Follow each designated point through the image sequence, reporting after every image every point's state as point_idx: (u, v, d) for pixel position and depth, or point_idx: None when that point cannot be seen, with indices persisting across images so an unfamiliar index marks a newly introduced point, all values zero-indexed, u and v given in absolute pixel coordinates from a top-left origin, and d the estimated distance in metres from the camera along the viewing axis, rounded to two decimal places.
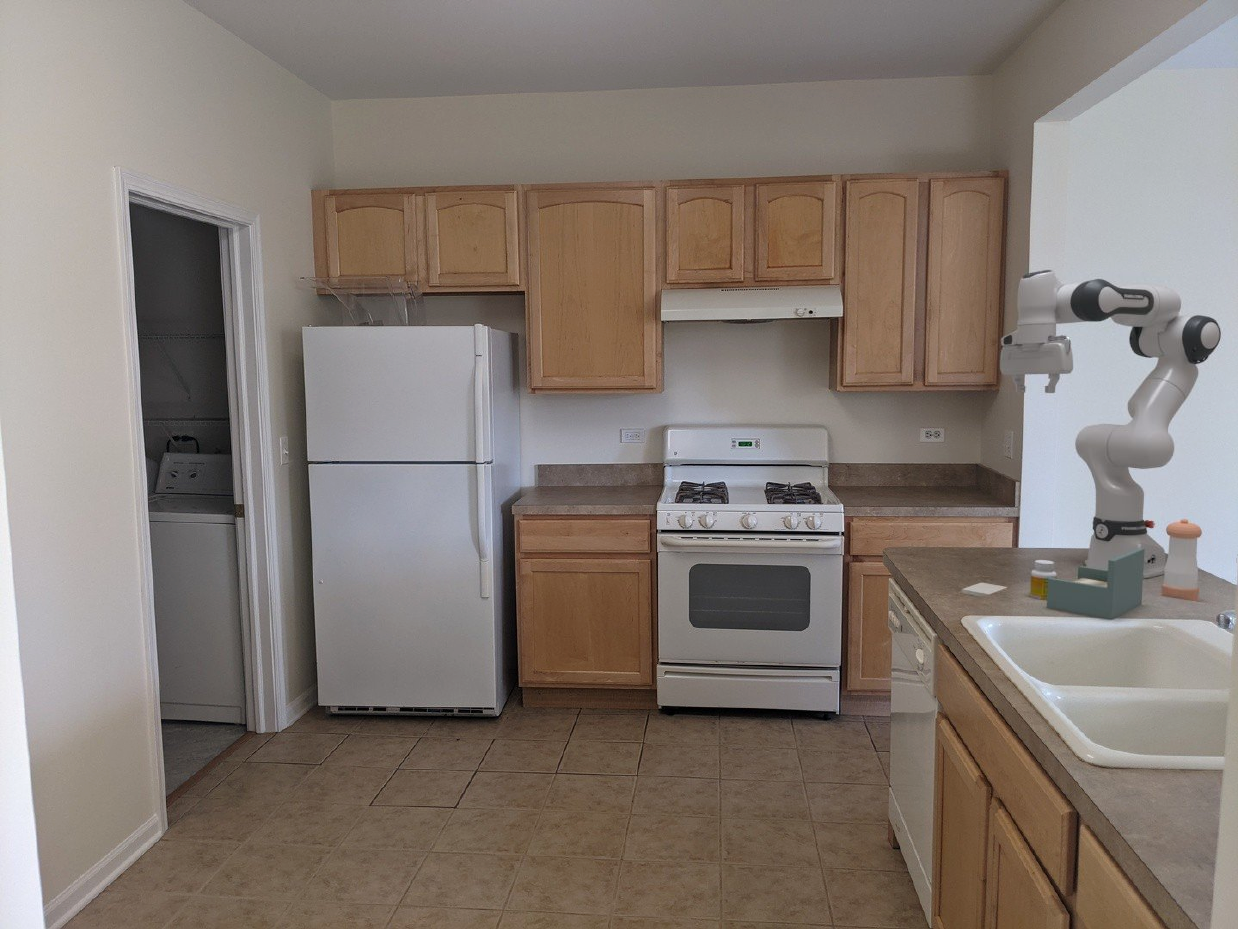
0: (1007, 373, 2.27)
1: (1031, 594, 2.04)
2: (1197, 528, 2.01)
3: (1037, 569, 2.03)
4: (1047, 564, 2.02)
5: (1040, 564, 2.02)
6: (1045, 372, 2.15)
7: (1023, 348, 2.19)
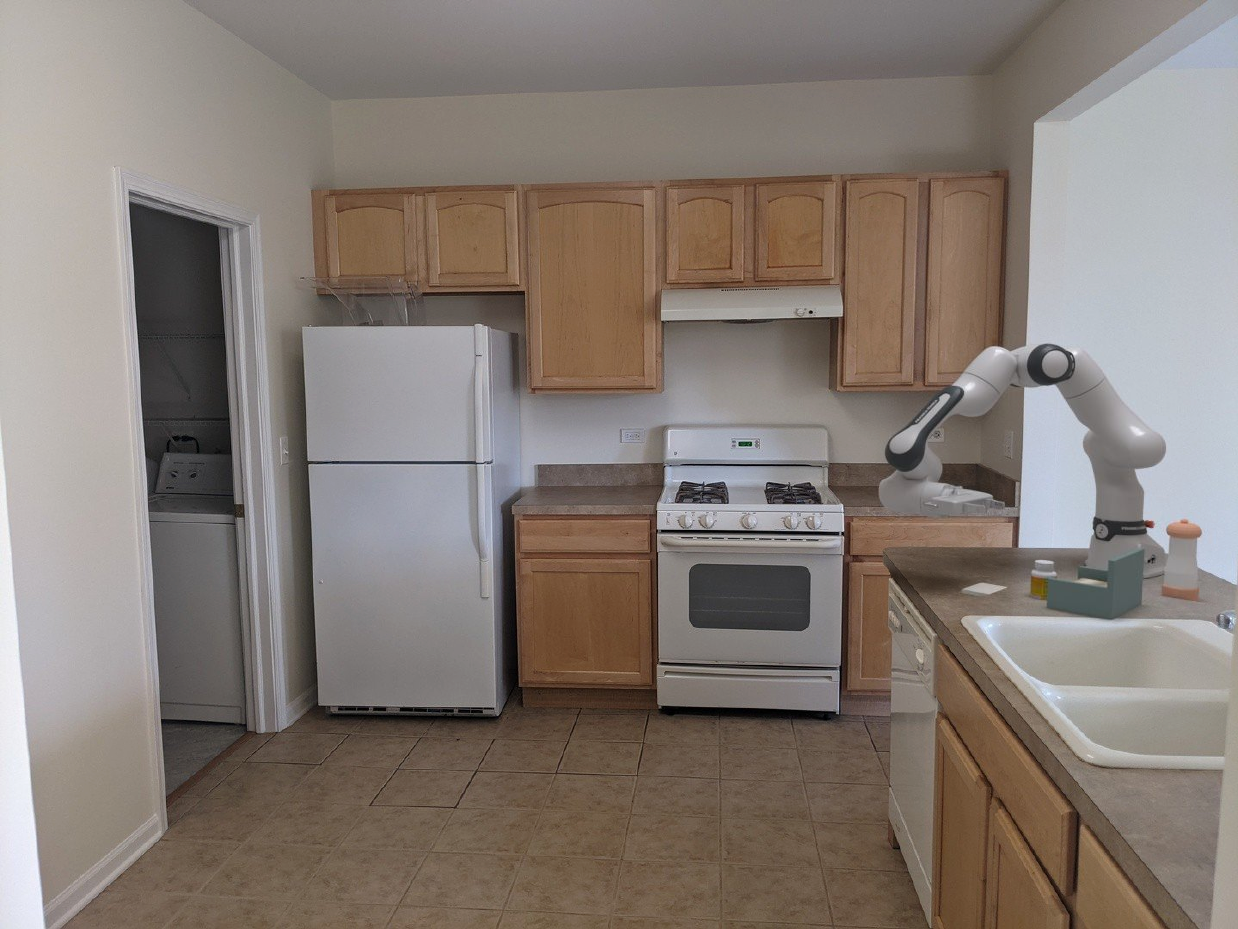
0: None
1: (1031, 594, 2.04)
2: (1197, 528, 2.01)
3: (1037, 569, 2.03)
4: (1047, 564, 2.02)
5: (1040, 564, 2.02)
6: None
7: None
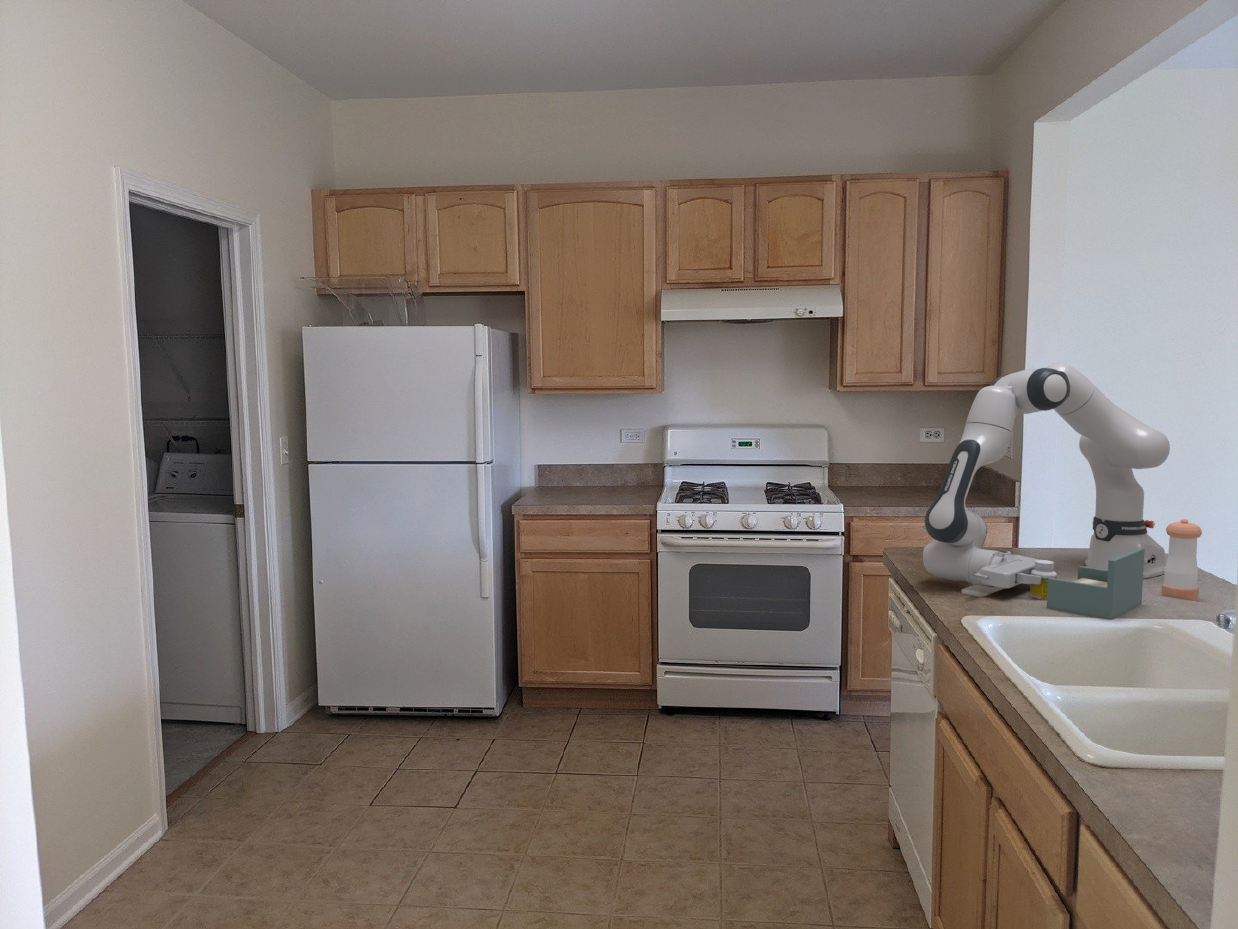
0: None
1: (1031, 594, 2.04)
2: (1197, 528, 2.01)
3: (1037, 569, 2.03)
4: (1047, 564, 2.02)
5: (1040, 564, 2.02)
6: None
7: None
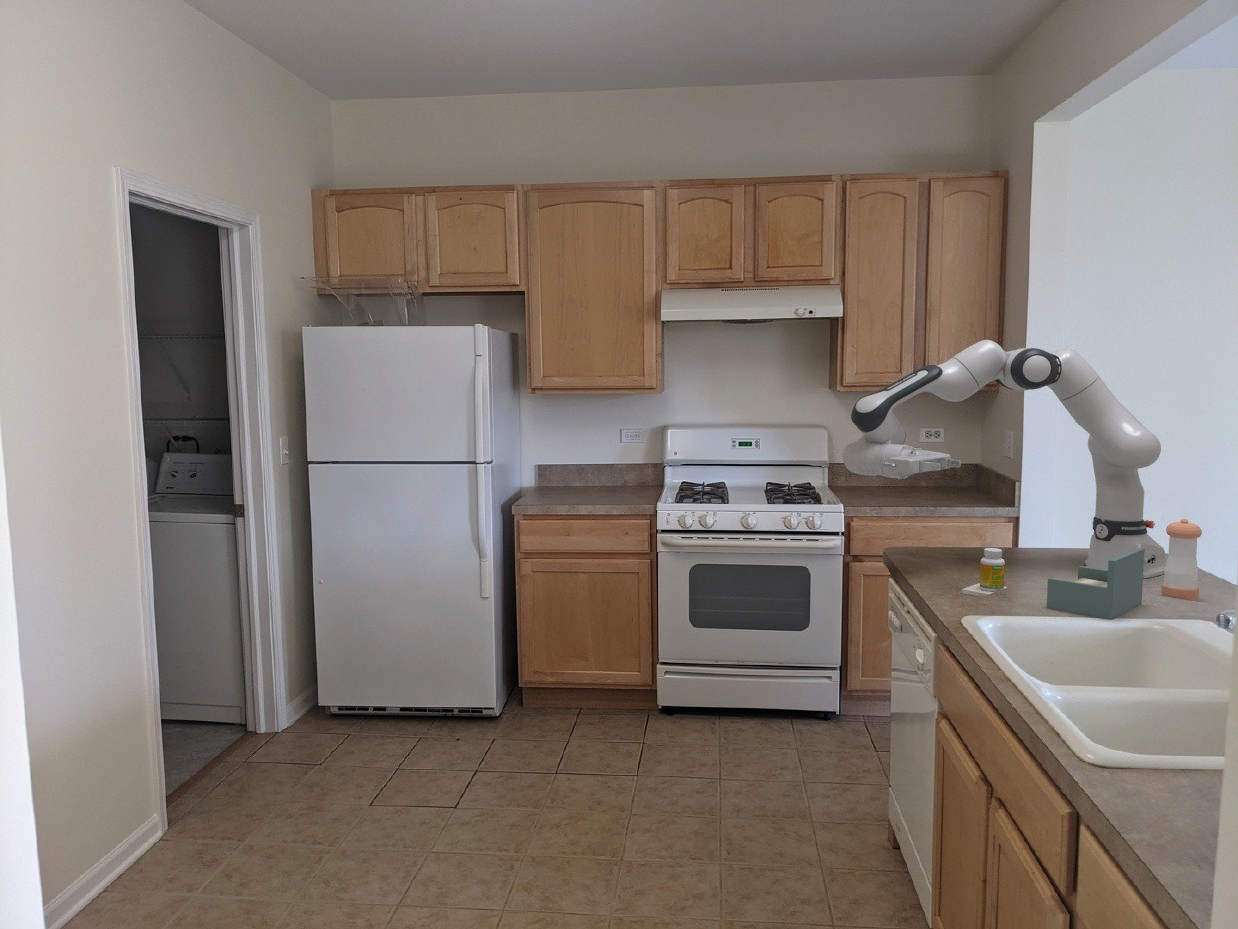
0: (945, 468, 2.29)
1: (980, 581, 2.13)
2: (1197, 528, 2.01)
3: (986, 557, 2.12)
4: (995, 552, 2.10)
5: (988, 552, 2.11)
6: None
7: None
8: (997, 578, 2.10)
